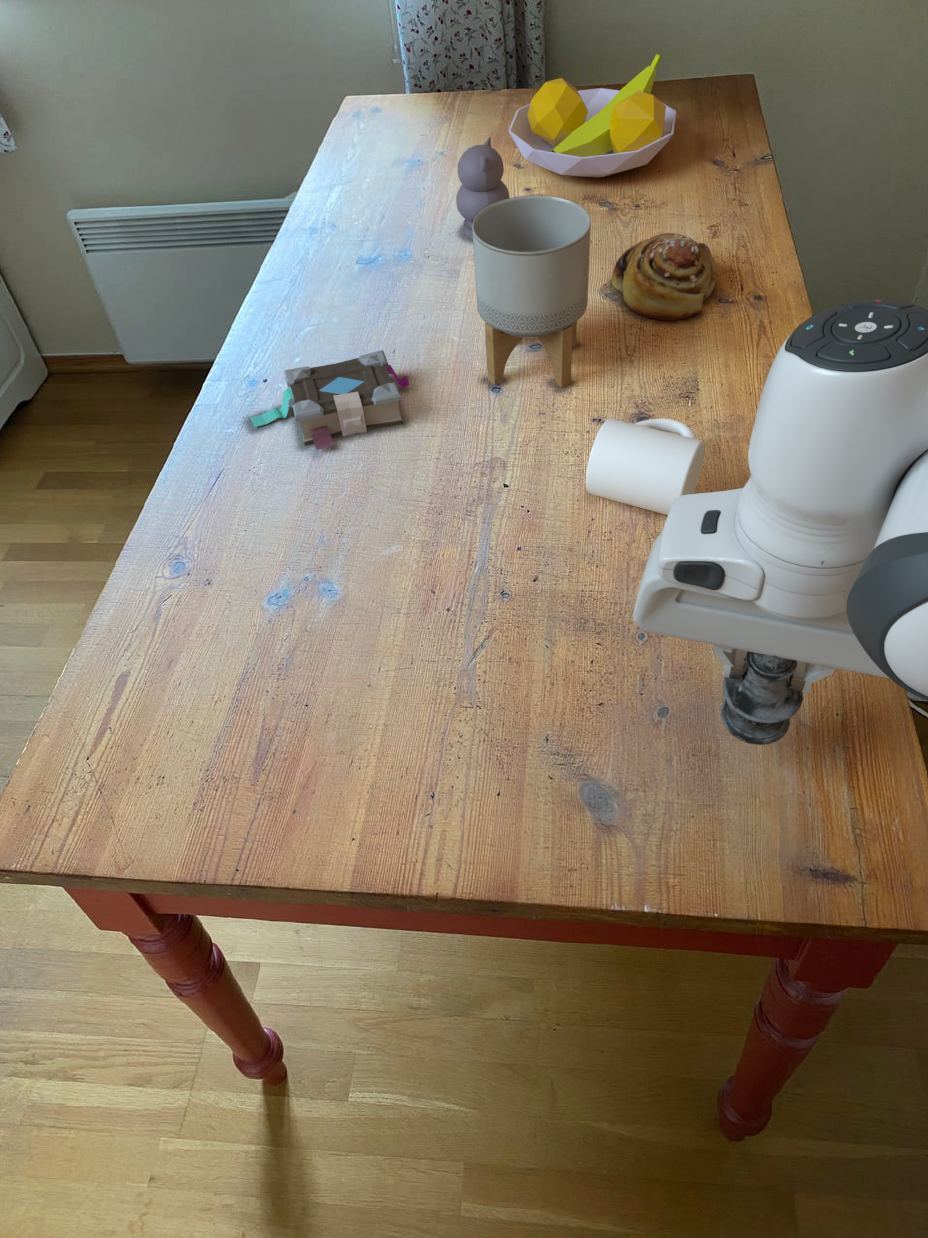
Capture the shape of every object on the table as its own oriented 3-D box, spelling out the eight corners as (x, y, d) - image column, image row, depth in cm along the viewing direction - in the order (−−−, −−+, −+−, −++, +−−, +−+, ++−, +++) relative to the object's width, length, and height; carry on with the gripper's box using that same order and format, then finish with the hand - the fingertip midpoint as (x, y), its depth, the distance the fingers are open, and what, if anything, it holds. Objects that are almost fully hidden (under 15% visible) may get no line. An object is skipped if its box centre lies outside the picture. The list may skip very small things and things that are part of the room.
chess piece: (798, 695, 71) (832, 596, 62) (789, 756, 68) (824, 661, 58) (723, 678, 73) (746, 580, 64) (710, 737, 69) (733, 642, 60)
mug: (675, 534, 90) (685, 474, 84) (583, 508, 94) (586, 448, 87) (710, 462, 97) (721, 402, 91) (623, 440, 100) (628, 380, 94)
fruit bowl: (561, 212, 135) (562, 133, 126) (484, 148, 152) (481, 74, 143) (716, 166, 141) (728, 88, 133) (627, 109, 158) (632, 37, 149)
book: (259, 467, 101) (248, 432, 97) (247, 406, 109) (237, 371, 105) (428, 429, 104) (423, 393, 100) (404, 371, 111) (400, 336, 108)
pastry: (653, 330, 114) (659, 271, 107) (594, 277, 123) (597, 220, 116) (740, 301, 116) (751, 243, 110) (677, 252, 125) (684, 195, 119)
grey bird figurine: (460, 217, 136) (454, 134, 127) (512, 215, 135) (509, 132, 126) (455, 245, 131) (449, 161, 122) (509, 244, 130) (506, 159, 121)
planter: (540, 321, 117) (540, 183, 103) (606, 364, 109) (615, 223, 96) (460, 359, 112) (449, 221, 99) (524, 407, 105) (521, 265, 92)
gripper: (981, 542, 55) (915, 674, 66) (652, 492, 61) (640, 621, 71) (984, 617, 52) (913, 744, 62) (633, 557, 57) (623, 683, 68)
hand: (765, 678), depth 67 cm, fingers closed on chess piece, 3 cm apart
